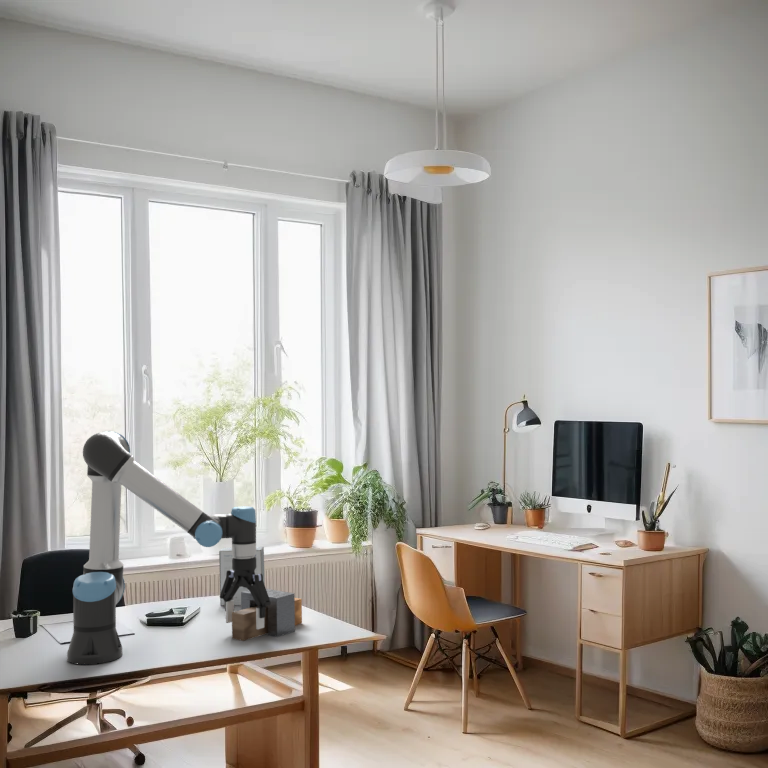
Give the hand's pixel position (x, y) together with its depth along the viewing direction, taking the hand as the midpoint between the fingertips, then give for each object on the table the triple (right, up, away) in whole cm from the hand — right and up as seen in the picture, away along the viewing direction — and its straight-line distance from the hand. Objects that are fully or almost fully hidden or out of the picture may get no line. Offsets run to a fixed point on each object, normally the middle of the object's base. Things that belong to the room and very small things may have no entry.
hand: (244, 625), depth 271 cm
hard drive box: (-8, -5, +47) cm, 48 cm away
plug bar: (+6, -4, +8) cm, 11 cm away
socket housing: (+6, -4, +8) cm, 11 cm away
